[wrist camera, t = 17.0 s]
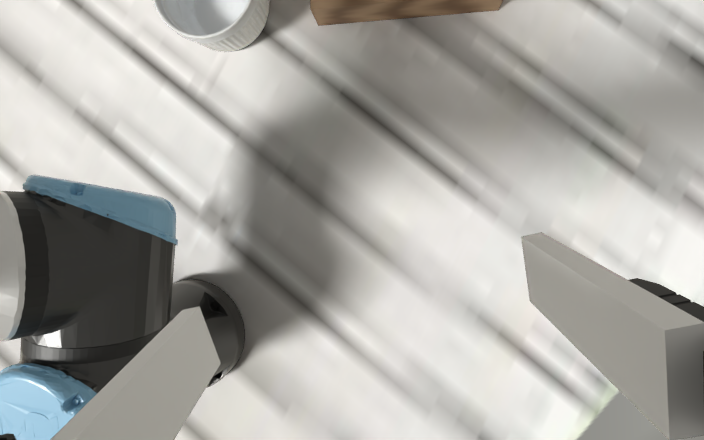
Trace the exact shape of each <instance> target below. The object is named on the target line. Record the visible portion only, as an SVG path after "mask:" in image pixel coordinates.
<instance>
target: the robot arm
mask: <svg viewBox="0 0 704 440" xmlns="http://www.w3.org/2000/svg"><path fill="white" fill-rule="evenodd" d="M23 189H24V190H25V192H10V191H0V342H2V341H8V340H12V339H17V338H21V352H20V362H19V363H18V364H15V365H11V366H9V367H7V368H5V369H3V370H2V371H1V372H0V440H174V439H175V437H176V436H177V434H178V432H179V431H180V429H181V428H182V426H183V424H184V423H185V421H186V419H187V418H188V416H189V415H190V413H191V411H192V410H193V408H194V406H195V405H196V403H197V401H198V400H199V398H200V397H201V395H202V393H203V392H204V390H205V388H207V387H209V386H211V385H213V384H215V383H217V382H218V381H220V380H221V379H222V378H223V377H224V376H225V375H226V374H227V373H228V372H229V371H230V370H231V369H232V368H233V367H234V366H235V365H236V363H237V362H238V360H239V358H240V356H241V353H242V350H243V346H244V339H245V333H244V325H243V321H242V317H241V315H240V312H239V310H238V308H237V307H236V305H235V303H234V302H233V301H232V299H231V298H230V297H229V296H228V295H227V294H226V293H225V292H224V291H222V290H221V289H220V288H218V287H216V286H215V285H213V284H210V283H208V282H205V281H201V280H183V281H179V282H176V283H173V271H174V256H175V245H177V243H178V241H177V239H176V212H175V209H174V207H173V205H172V204H171V203H170V202H169V201H167V200H166V199H164V198H161V197H157V196H152V195H147V194H142V193H136V192H131V191H125V190H120V189H114V188H108V187H102V186H97V185H92V184H86V183H80V182H75V181H69V180H63V179H57V178H51V177H45V176H40V175H31V176H29V177H28V178H27V180H26V182H25V183H24V184H23ZM521 240H522V247H523V254H524V262H525V269H526V276H527V283H528V291H529V298H530V302H531V303H532V304H533V305H534V306H535V307H536V308H537V309H538V310H539V311H540V312H541V313H542V314H543V315H544V316H545V317H546V318H547V319H548V320H549V321H550V322H551V323H552V324H553V325H554V326H555V327H556V328H557V329H558V330H559V331H560V332H561V333H562V334H563V335H564V336H565V337H566V338H567V339H568V340H569V341H570V342H571V343H572V344H573V345H574V346H575V347H576V348H577V349H578V350H579V351H580V352H581V353H582V354H583V355H584V356H585V357H586V358H587V359H588V360H589V361H590V362H591V363H592V364H593V365H594V366H595V367H596V368H597V369H598V370H599V371H600V372H601V373H602V374H603V375H604V376H605V377H606V378H607V379H608V380H609V381H610V382H611V383H612V384H613V385H614V386H615V387H616V388H617V389H618V390H619V391H620V392H621V393H622V394H623V395H624V396H625V397H626V398H627V399H628V400H629V401H630V402H631V403H632V404H633V405H634V406H635V407H636V408H637V409H638V410H639V411H640V412H641V413H642V414H643V415H644V416H645V417H646V418H647V419H648V420H649V421H650V422H651V423H652V424H654V426H655V427H656V428H657V429H658V430H659V431H660V432H661V433H662V434H663V435H664V436H665V437H666V438H667V439H668V440H678V439H684V438H690V437H696V436H703V435H704V307H703V306H701V305H699V304H697V303H695V302H691V301H690V300H689V299H687V298H685V297H683V296H681V295H677V294H676V293H675V292H673V291H671V290H669V289H668V288H666V287H664V286H662V285H660V284H657V283H653V282H649V281H645V280H642V279H638V278H636V279H631V280H627V279H625V278H623V277H621V276H620V275H618V274H616V273H614V272H612V271H610V270H609V269H607V268H605V267H603V266H601V265H600V264H598V263H596V262H594V261H592V260H591V259H589V258H587V257H585V256H583V255H582V254H580V253H578V252H576V251H574V250H572V249H571V248H569V247H567V246H565V245H563V244H562V243H560V242H558V241H556V240H554V239H553V238H551V237H549V236H547V235H545V234H544V233H542V232H541V233H536V234H531V235H527V236H522V237H521Z"/></svg>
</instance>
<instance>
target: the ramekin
mask: <svg viewBox="0 0 704 440" xmlns="http://www.w3.org/2000/svg"><path fill="white" fill-rule="evenodd" d="M153 3H154V6H155V8H156V11H157V12H158V14H159V16H160V17H161V19H162V20H163V21H164V22H165V24H166V25H167V26H168V27H170V28H171V29H172V30H173V31H175V32H176V33H177V34H179V35H180V36H182V37H183V38H185V39H188V40H190V41H193V42H197V43H199V44H201V45H203V46H205V47H207V48H210V49H212V50H216V51H220V52H221V51H223V52H232V51H237V50H240V49H242V48H244V47H246V46H247V45H249V44H251V43H252V42H253V41H254V40H255V39H256V38H257V37H258V36H259V34H260V33H261V32H262V30H263V28H264V26H265V24H266V21H267V18H268V14H269V0H153Z"/></svg>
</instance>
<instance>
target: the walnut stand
mask: <svg viewBox="0 0 704 440" xmlns="http://www.w3.org/2000/svg"><path fill="white" fill-rule="evenodd" d="M502 2H503V0H310V8H311V11H312V13H313V15H314V17H315V19H316V21H317V23H318V25H331V24H343V23H354V22H366V21H378V20H389V19H401V18H413V17H425V16H436V15H448V14H460V13H471V12H483V11H495V10H499V8H500V6H501V4H502Z"/></svg>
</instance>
